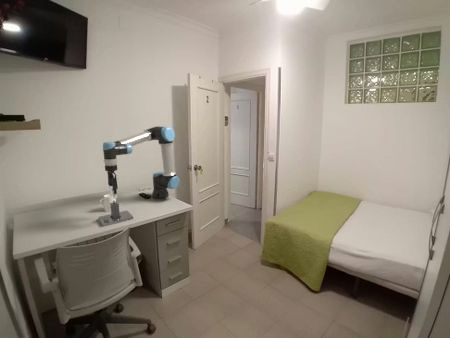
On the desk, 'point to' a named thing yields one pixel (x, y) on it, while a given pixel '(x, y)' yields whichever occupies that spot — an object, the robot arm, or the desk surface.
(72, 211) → the desk surface
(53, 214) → the desk surface
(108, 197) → the mug
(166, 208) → the desk surface
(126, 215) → the socket plate
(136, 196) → the desk surface
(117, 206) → the plug
